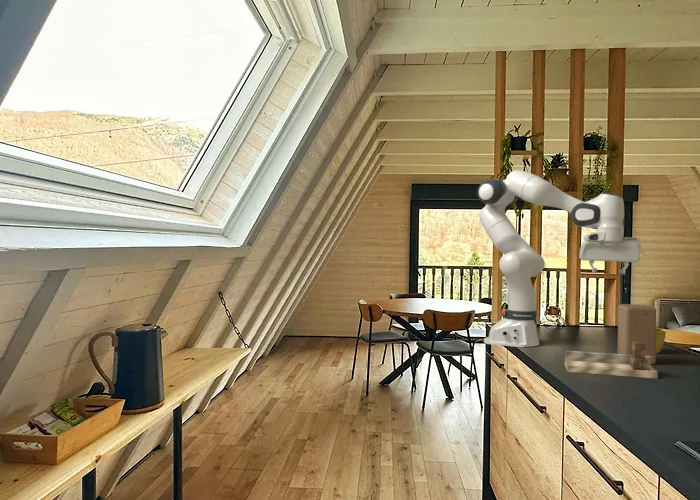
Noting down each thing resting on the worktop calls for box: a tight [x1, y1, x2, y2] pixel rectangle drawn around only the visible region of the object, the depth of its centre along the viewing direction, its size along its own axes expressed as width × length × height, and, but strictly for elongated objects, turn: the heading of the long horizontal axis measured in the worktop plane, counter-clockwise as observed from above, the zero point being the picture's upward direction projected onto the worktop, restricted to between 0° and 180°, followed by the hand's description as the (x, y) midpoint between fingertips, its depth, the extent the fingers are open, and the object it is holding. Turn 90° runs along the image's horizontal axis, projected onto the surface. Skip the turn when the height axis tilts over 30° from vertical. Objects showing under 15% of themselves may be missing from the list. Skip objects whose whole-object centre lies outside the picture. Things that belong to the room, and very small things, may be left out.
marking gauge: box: [630, 341, 648, 370], centre depth 166 cm, size 4×7×8 cm, turn 162°
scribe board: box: [564, 350, 659, 380], centre depth 170 cm, size 26×10×5 cm, turn 72°
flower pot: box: [656, 327, 666, 354], centre depth 203 cm, size 9×9×9 cm
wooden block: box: [617, 303, 657, 365], centre depth 186 cm, size 10×10×20 cm
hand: (608, 273), depth 193 cm, fingers open, 8 cm apart
